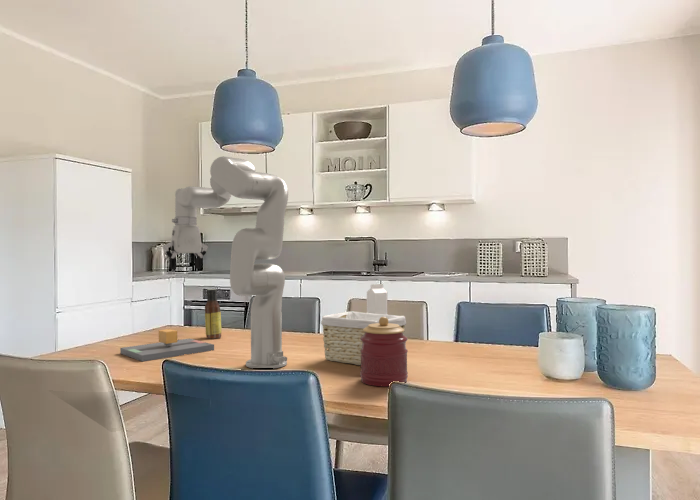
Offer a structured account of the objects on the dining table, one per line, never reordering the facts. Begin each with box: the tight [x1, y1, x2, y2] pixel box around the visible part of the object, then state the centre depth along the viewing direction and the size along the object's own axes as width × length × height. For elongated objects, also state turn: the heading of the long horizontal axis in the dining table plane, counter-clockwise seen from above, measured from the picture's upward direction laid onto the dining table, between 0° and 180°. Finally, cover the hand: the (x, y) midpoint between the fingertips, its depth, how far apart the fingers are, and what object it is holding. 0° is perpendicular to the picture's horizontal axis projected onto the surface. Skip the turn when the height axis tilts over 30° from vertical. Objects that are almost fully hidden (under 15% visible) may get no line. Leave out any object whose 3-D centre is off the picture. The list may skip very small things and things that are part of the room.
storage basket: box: [320, 310, 407, 366], centre depth 168 cm, size 24×16×15 cm
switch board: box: [119, 338, 215, 363], centre depth 183 cm, size 18×26×2 cm
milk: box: [366, 283, 388, 315], centre depth 206 cm, size 6×6×22 cm
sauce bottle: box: [204, 288, 222, 340], centre depth 211 cm, size 7×6×20 cm
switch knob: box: [158, 328, 178, 346], centre depth 183 cm, size 6×4×5 cm, turn 45°
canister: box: [359, 317, 409, 388], centre depth 142 cm, size 13×13×18 cm
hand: (185, 269), depth 191 cm, fingers open, 9 cm apart
